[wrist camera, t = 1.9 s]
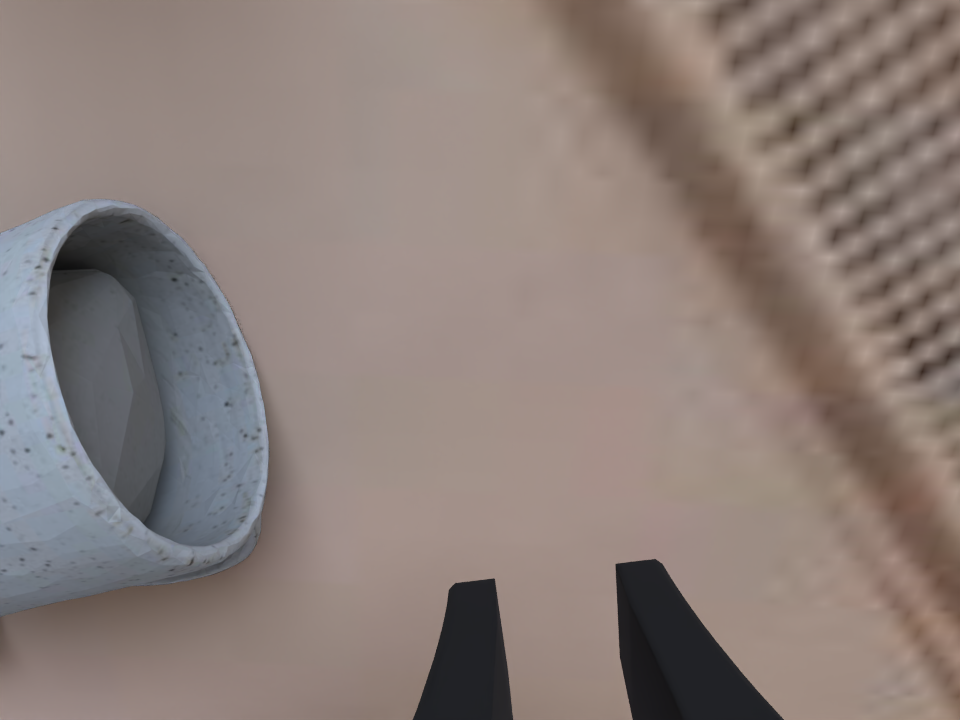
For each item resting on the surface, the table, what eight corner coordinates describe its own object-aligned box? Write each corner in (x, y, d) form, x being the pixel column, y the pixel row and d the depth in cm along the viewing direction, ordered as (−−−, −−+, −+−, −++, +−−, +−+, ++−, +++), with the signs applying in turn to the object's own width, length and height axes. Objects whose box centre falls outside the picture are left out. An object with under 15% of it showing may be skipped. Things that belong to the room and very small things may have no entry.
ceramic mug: (-171, 273, 19) (-483, 481, 13) (140, 144, 18) (-24, 300, 12) (93, 580, 25) (-32, 842, 18) (348, 494, 23) (316, 740, 17)
